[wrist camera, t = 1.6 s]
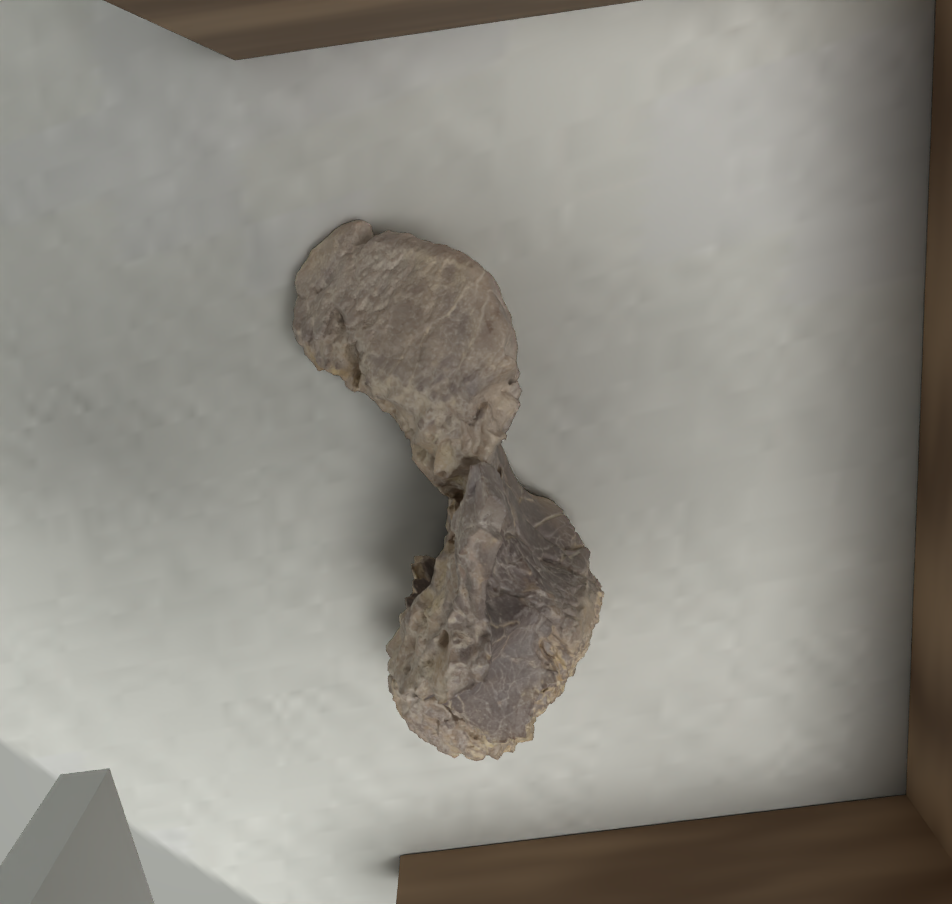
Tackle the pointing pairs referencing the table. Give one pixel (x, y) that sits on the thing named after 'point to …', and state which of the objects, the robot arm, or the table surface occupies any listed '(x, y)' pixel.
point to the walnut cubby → (934, 603)
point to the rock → (455, 486)
